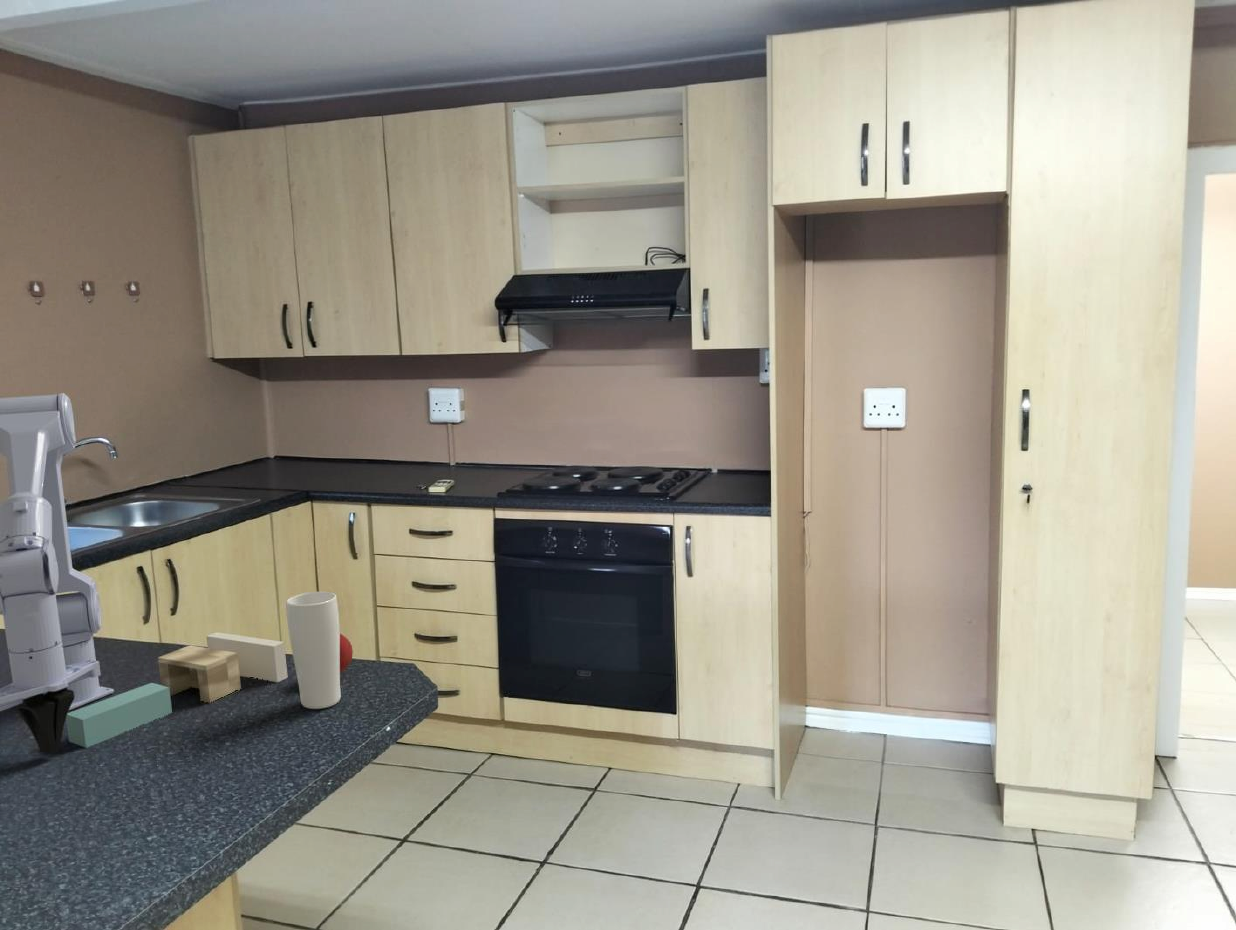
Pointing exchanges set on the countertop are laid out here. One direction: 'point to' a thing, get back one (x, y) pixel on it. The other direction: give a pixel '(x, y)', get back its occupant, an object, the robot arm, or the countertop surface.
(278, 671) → the wall
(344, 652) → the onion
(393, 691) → the countertop surface
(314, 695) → the drinking glass
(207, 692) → the block
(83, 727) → the mint green rectangular prism
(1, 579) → the robot arm
